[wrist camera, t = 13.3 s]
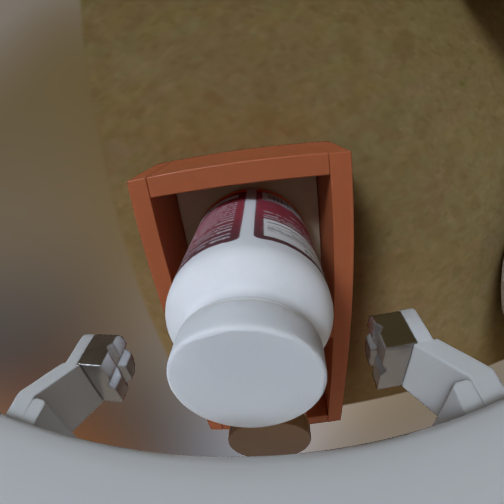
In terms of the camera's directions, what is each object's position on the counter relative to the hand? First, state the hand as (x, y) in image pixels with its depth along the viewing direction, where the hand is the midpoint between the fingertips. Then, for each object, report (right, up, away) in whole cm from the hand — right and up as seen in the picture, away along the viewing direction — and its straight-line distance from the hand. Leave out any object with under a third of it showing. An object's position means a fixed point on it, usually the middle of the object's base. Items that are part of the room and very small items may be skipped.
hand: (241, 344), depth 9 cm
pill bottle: (0, +4, +9) cm, 10 cm away
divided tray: (+1, 0, +11) cm, 11 cm away
